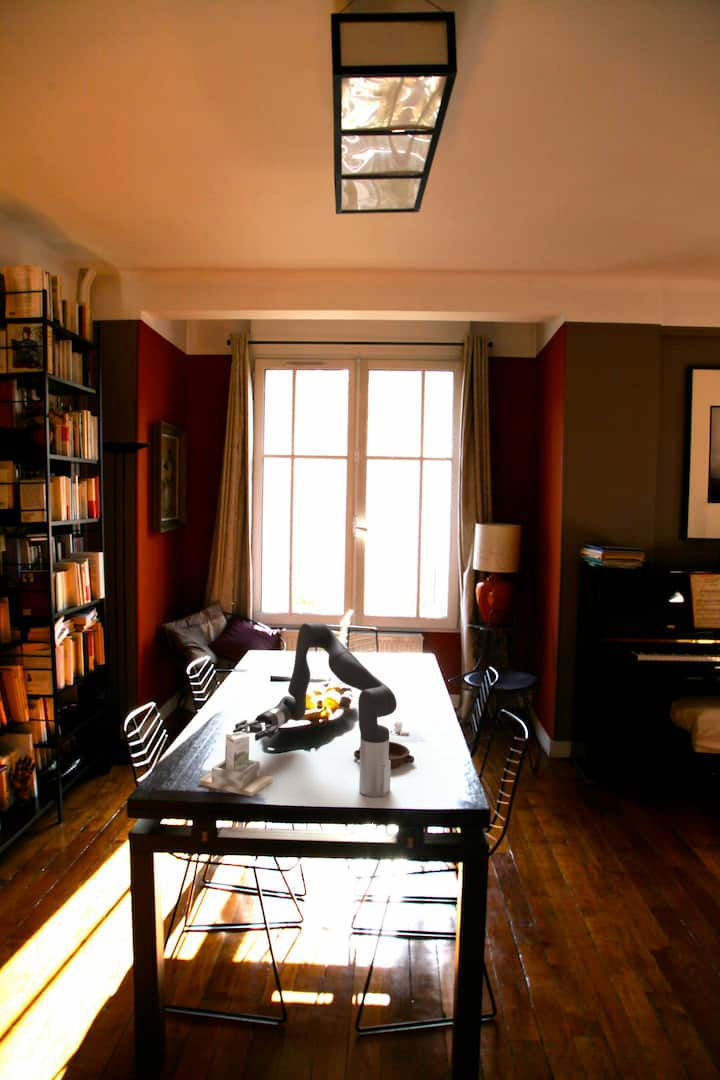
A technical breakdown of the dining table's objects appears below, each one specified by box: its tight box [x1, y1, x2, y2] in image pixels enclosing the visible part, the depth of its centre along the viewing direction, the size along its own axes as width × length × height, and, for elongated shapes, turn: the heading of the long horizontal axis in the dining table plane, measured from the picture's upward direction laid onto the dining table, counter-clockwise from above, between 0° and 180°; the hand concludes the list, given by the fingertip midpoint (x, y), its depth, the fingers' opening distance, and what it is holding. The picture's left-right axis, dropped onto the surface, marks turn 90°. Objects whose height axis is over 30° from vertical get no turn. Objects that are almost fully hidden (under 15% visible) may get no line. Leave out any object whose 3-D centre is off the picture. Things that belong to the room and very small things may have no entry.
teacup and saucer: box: [388, 721, 410, 736], centre depth 247 cm, size 9×8×4 cm
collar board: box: [198, 759, 273, 798], centre depth 196 cm, size 20×12×6 cm, turn 68°
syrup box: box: [224, 730, 250, 772], centre depth 196 cm, size 6×6×14 cm
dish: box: [353, 741, 415, 769], centre depth 216 cm, size 18×22×5 cm
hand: (244, 735), depth 200 cm, fingers open, 8 cm apart
